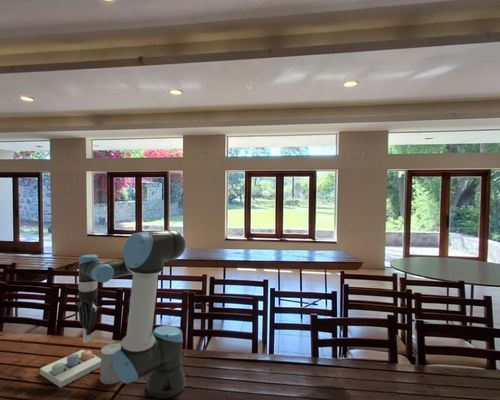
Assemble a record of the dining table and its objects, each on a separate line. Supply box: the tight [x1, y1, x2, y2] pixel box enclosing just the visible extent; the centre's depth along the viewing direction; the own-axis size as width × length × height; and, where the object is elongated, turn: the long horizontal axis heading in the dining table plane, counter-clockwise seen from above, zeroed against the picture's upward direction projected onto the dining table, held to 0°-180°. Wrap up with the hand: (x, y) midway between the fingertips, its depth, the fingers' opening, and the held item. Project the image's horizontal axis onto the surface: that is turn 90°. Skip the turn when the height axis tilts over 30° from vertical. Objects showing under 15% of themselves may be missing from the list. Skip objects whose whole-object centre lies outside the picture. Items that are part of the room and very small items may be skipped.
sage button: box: [52, 363, 64, 376], centre depth 121 cm, size 4×4×4 cm
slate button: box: [66, 353, 79, 369], centre depth 126 cm, size 4×4×4 cm
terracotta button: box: [81, 349, 93, 362], centre depth 131 cm, size 4×4×4 cm
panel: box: [39, 349, 101, 388], centre depth 126 cm, size 16×18×2 cm
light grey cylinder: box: [99, 342, 122, 385], centre depth 122 cm, size 10×10×12 cm
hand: (86, 341), depth 131 cm, fingers closed
